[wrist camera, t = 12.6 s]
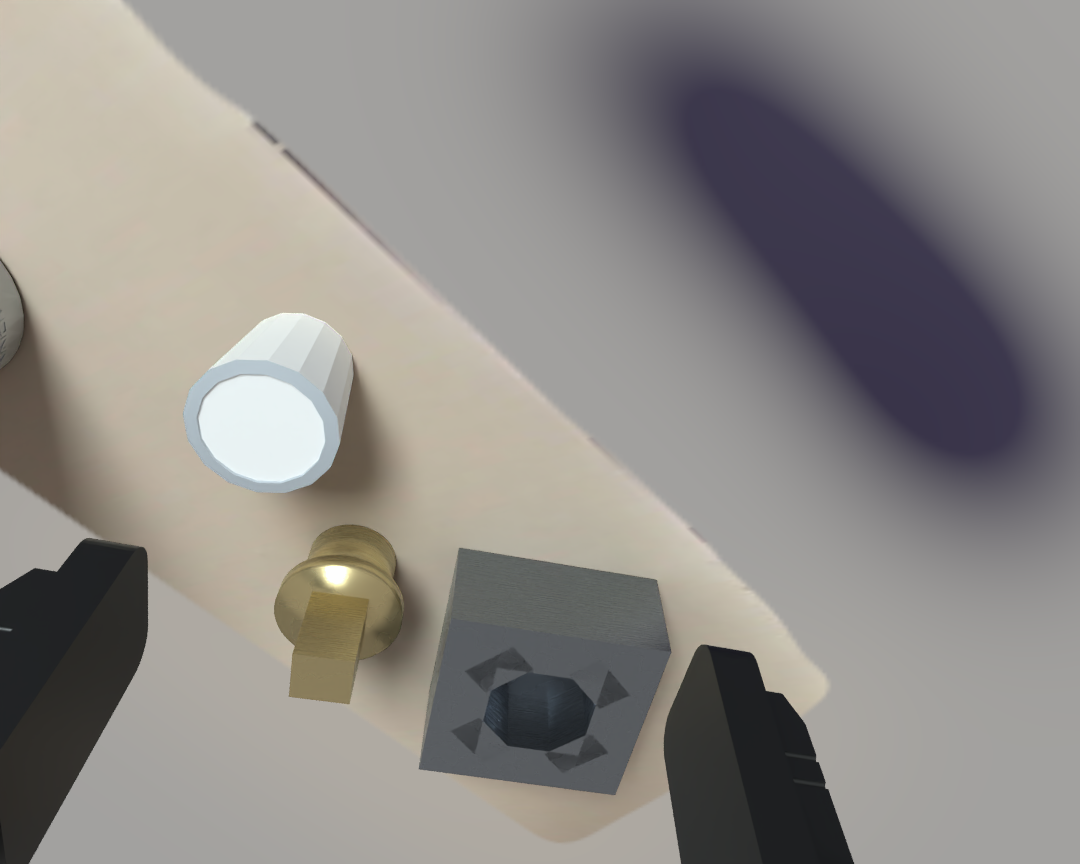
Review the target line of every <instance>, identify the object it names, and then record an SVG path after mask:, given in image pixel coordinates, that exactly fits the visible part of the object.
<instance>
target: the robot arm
mask: <svg viewBox="0 0 1080 864" xmlns="http://www.w3.org/2000/svg"><path fill="white" fill-rule="evenodd" d="M23 329H24V314H23V309H22V304H21V299H20V296H19V293H18V291H17V289H16V286H15V284H14V282H13V280H12V277H11V276H10V274H9V273H8V271H7V270H6V268H5V267H4V265H3V264H2V263H1V261H0V369H1V368H2V367H4V366H5V365H6V364H7V363H8V362H10V360H11V359H12V357H13V356H14V354H15V353H16V351H17V350H18V348H19V345H20V342H21V339H22V336H23ZM147 632H148V558H147V552H146V550H145V548H143V547H139V546H133V545H127V544H121V543H116V542H110V541H104V540H98V539H92V538H86V539H84V540H83V541H82V542H80V544H79V545H78V546H77V547H76V548H75V550H74V551H73V552H72V553H71V555H70V556H69V557H68V559H67V560H66V561H65V562H64V564H63V565H62V566H61V568H60V569H59V570H58V571H57V572H55V571H49V570H42V569H36V568H35V569H33V570H31V571H29V572H28V573H26V574H24V575H23V576H21V577H19V578H18V579H16V580H14V581H13V582H11V583H9V584H8V585H6V586H4V587H3V588H1V589H0V864H29V862H30V860H31V859H32V857H33V855H34V853H35V851H36V850H37V848H38V846H39V844H40V842H41V841H42V839H43V837H44V835H45V834H46V831H47V830H48V828H49V826H50V825H51V823H52V821H53V819H54V817H55V816H56V814H57V812H58V810H59V808H60V807H61V805H62V803H63V801H64V800H65V798H66V796H67V794H68V793H69V791H70V789H71V787H72V785H73V784H74V782H75V780H76V778H77V776H78V775H79V773H80V771H81V769H82V768H83V766H84V764H85V762H86V760H87V759H88V757H89V755H90V753H91V751H92V750H93V748H94V746H95V744H96V742H97V741H98V739H99V737H100V735H101V733H102V732H103V730H104V728H105V726H106V725H107V723H108V721H109V719H110V718H111V716H112V713H113V712H114V710H115V708H116V707H117V705H118V703H119V701H120V700H121V698H122V696H123V694H124V693H125V691H126V689H127V687H128V685H129V684H130V682H131V680H132V678H133V676H134V674H135V673H136V671H137V668H138V666H139V664H140V661H141V658H142V655H143V652H144V648H145V644H146V639H147ZM664 758H665V764H666V771H667V777H668V783H669V790H670V795H671V802H672V808H673V815H674V821H675V827H676V834H677V840H678V846H679V852H680V858H681V864H854V862H853V859H852V856H851V853H850V851H849V848H848V845H847V842H846V839H845V836H844V834H843V831H842V828H841V825H840V822H839V819H838V816H837V813H836V811H835V808H834V805H833V802H832V799H831V796H830V793H829V790H828V789H825V783H826V782H825V779H824V776H823V773H822V770H821V768H820V765H819V762H816V753H815V750H814V747H813V745H812V742H811V739H810V736H809V733H808V731H807V727H806V725H805V723H804V722H803V720H802V719H801V718H800V716H799V715H798V714H797V712H796V711H795V710H794V708H793V707H792V706H791V705H790V703H789V702H788V701H787V699H786V698H785V697H784V695H783V694H781V693H775V692H769V691H766V690H765V687H764V683H763V680H762V677H761V674H760V671H759V667H758V664H757V661H756V659H755V657H754V655H753V654H752V653H750V652H745V651H739V650H733V649H727V648H721V647H715V646H709V645H701V646H699V647H698V648H697V650H696V652H695V654H694V656H693V658H692V661H691V663H690V665H689V668H688V670H687V672H686V675H685V677H684V679H683V682H682V684H681V686H680V689H679V691H678V693H677V696H676V698H675V700H674V703H673V705H672V707H671V710H670V712H669V715H668V718H667V722H666V727H665V734H664Z"/></svg>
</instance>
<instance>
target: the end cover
mask: <svg viewBox="0 0 1080 864" xmlns="http://www.w3.org/2000/svg"><path fill="white" fill-rule="evenodd" d="M395 567H396V556H395V552H394V550H393V548H392V546H391V545H390V543H389V542H388V541H387V540H386V539H385V538H384V537H383V536H382V535H380V534H379V533H377V532H375V531H373V530H371V529H369V528H366V527H362V526H357V525H342V526H337V527H333V528H330V529H328V530H326V531H325V532H323V533H322V534H320V535H319V536H318V537H317V538H316V540H315V541H314V543H313V545H312V548H311V550H310V553H309V556H308V559H307V560H306V561H304V562H302V563H300V564H298V565H297V566H295V567H294V568H293V569H292V570H291V571H290V572H289V573H288V574H287V575H286V576H285V578H284V580H283V581H282V584H281V586H280V589H279V592H278V595H277V597H276V600H275V606H274V614H275V619H276V622H277V624H278V627H279V628H280V630H281V632H282V633H283V634H284V636H285V637H286V638H287V639H288V640H289V641H290V642H291V643H292V644H294V645H295V648H294V651H293V654H292V666H291V679H290V691H289V697H295V698H304V699H311V700H319V701H328V702H336V703H344V704H350V699H351V695H352V690H353V685H354V681H355V676H356V672H357V667H358V663H359V660H362V659H366V658H369V657H372V656H374V655H376V654H378V653H380V652H382V651H383V650H385V649H386V648H387V647H389V646H390V645H391V644H392V642H393V641H394V640H395V639H396V637H397V635H398V633H399V631H400V628H401V623H402V618H403V611H404V601H403V597H402V593H401V591H400V589H399V587H398V585H397V584H396V582H395V581H394V580H393V577H394V572H395Z"/></svg>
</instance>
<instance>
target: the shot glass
mask: <svg viewBox="0 0 1080 864" xmlns="http://www.w3.org/2000/svg"><path fill="white" fill-rule="evenodd" d="M353 376H354V372H353V360H352V354H351V352H350V350H349V349H348V347H347V345H346V343H345V341H344V339H343V337H342V336H341V335H340V334H339V333H337V332H336V331H335V330H334V329H333V328H332V327H331V326H329V325H328V324H327V323H326V322H324V321H322V320H319V319H317V318H314V317H312V316H309V315H306V314H301V313H281V314H278V315H275V316H273V317H270V318H267V319H265V320H262V321H261V322H260V323H259V324H258V325H257V326H256V327H255V328H254V329H252V330H251V331H250V332H249V333H248V334H247V335H246V336H245V337H244V338H243V339H242V340H240V341H239V342H238V343H237V344H236V345H235V346H234V347H233V348H232V349H231V350H230V351H228V352H227V353H226V354H225V355H224V356H223V357H222V358H221V359H220V360H219V361H218V362H216V363H215V364H214V365H213V366H212V367H211V368H210V369H209V370H208V371H207V372H206V373H205V374H204V375H203V376H202V377H201V378H200V379H199V380H198V381H197V382H196V383H195V384H194V385H193V386H192V387H191V388H190V390H189V394H188V397H187V401H186V404H185V408H184V412H183V417H184V422H185V428H186V433H187V438H188V441H189V443H190V444H191V446H192V447H193V448H194V450H195V451H196V453H197V454H198V456H199V457H200V459H201V460H202V462H203V463H204V464H205V465H206V466H207V467H209V468H210V469H211V470H213V471H214V472H215V473H217V474H218V475H219V476H221V477H222V478H223V479H225V480H226V481H227V482H229V483H232V484H235V485H238V486H241V487H243V488H246V489H249V490H252V491H255V492H272V493H287V492H290V491H293V490H296V489H299V488H302V487H305V486H308V485H311V484H313V483H314V482H315V481H316V480H317V479H318V478H319V477H320V476H322V475H323V474H324V473H325V472H326V471H327V470H328V469H329V468H330V467H331V465H332V463H333V460H334V458H335V455H336V453H337V450H338V448H339V445H340V441H341V436H342V431H343V426H344V421H345V416H346V411H347V406H348V401H349V396H350V391H351V386H352V381H353Z"/></svg>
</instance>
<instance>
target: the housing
mask: <svg viewBox="0 0 1080 864" xmlns="http://www.w3.org/2000/svg"><path fill="white" fill-rule="evenodd" d="M670 654H671V649H670V644H669V639H668V634H667V629H666V624H665V619H664V614H663V609H662V604H661V599H660V595H659V590H658V585H657V580H654V579H647V578H641V577H635V576H629V575H623V574H617V573H611V572H605V571H598V570H592V569H586V568H580V567H574V566H568V565H562V564H555V563H549V562H543V561H537V560H531V559H525V558H519V557H512V556H506V555H500V554H494V553H488V552H482V551H476V550H470V549H463V548H459V551H458V556H457V561H456V566H455V571H454V576H453V580H452V585H451V590H450V595H449V600H448V604H447V609H446V614H445V619H444V624H443V628H442V633H441V638H440V643H439V648H438V652H437V657H436V662H435V667H434V672H433V676H432V681H431V686H430V691H429V698H428V705H427V712H426V720H425V727H424V735H423V742H422V749H421V757H420V764H419V769H422V770H429V771H437V772H444V773H452V774H459V775H467V776H474V777H482V778H489V779H497V780H505V781H512V782H520V783H527V784H535V785H542V786H550V787H558V788H565V789H573V790H580V791H588V792H595V793H603V794H611V795H615V794H616V791H617V789H618V786H619V784H620V781H621V779H622V776H623V773H624V771H625V768H626V766H627V763H628V761H629V758H630V756H631V753H632V751H633V748H634V745H635V743H636V740H637V738H638V735H639V733H640V730H641V728H642V725H643V723H644V720H645V717H646V715H647V712H648V710H649V707H650V705H651V702H652V700H653V697H654V695H655V692H656V689H657V687H658V684H659V682H660V679H661V677H662V674H663V672H664V669H665V667H666V664H667V662H668V659H669V656H670Z"/></svg>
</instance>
